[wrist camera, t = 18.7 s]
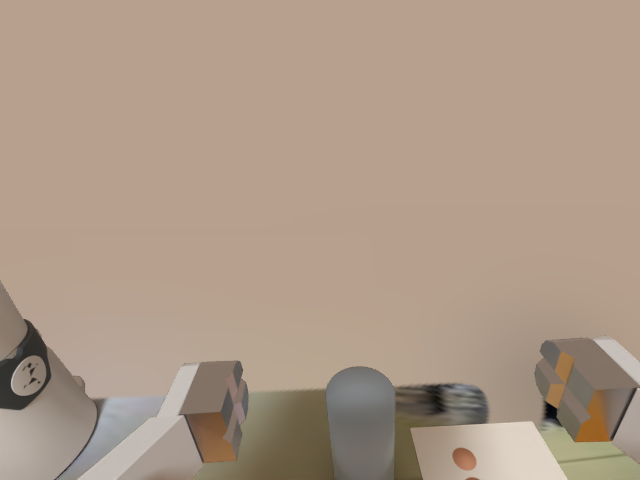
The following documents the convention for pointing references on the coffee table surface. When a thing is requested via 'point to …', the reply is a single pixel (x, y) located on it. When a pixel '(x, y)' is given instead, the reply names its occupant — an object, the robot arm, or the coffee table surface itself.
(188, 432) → the robot arm
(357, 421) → the pale blue cylinder
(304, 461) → the coffee table surface
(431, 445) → the mat
